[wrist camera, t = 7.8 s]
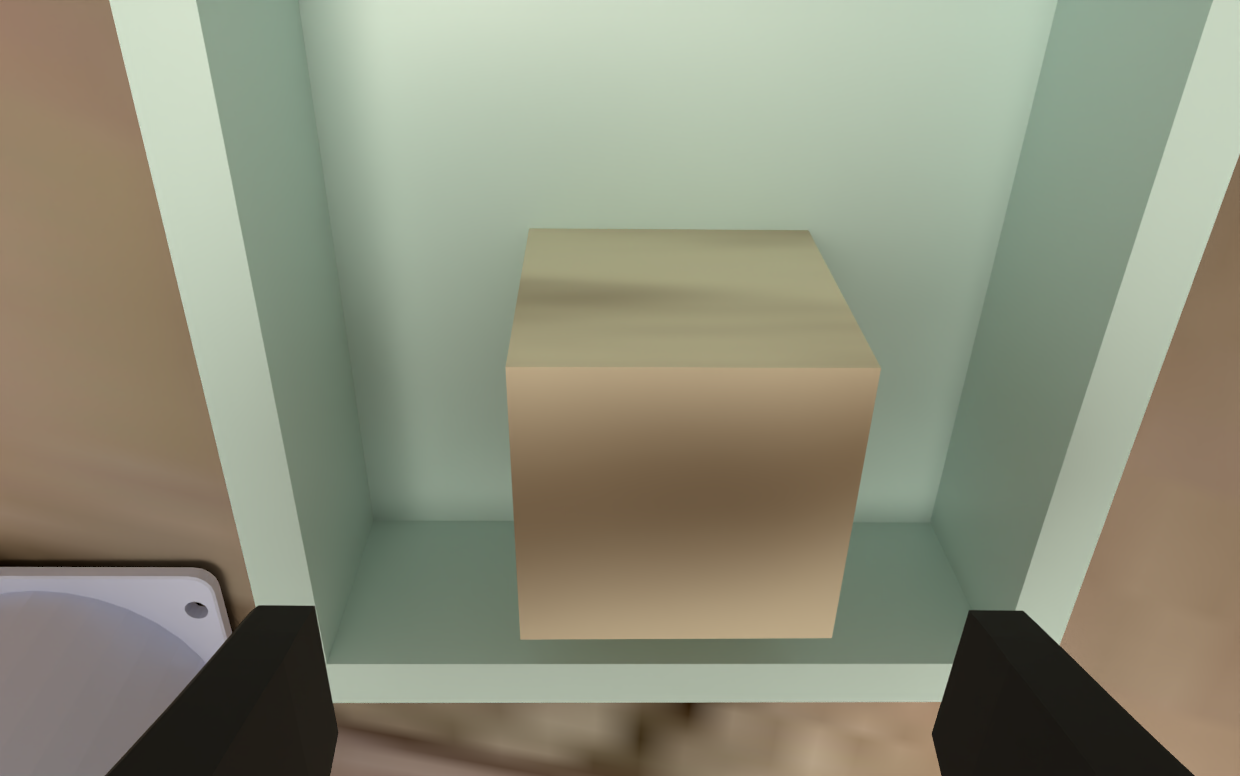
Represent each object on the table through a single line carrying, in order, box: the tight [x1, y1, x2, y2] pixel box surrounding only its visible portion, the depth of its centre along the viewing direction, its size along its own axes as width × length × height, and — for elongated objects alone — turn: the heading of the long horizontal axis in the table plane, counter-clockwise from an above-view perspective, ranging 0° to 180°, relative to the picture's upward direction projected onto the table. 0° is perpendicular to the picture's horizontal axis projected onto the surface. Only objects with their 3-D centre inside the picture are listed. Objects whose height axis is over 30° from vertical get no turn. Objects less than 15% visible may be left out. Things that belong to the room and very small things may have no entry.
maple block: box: [505, 228, 881, 640], centre depth 16 cm, size 5×5×5 cm
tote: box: [109, 0, 1240, 703], centre depth 15 cm, size 18×14×5 cm
